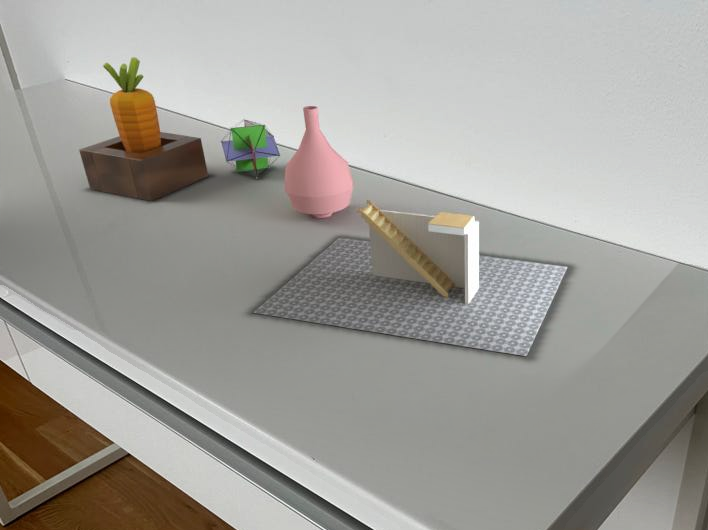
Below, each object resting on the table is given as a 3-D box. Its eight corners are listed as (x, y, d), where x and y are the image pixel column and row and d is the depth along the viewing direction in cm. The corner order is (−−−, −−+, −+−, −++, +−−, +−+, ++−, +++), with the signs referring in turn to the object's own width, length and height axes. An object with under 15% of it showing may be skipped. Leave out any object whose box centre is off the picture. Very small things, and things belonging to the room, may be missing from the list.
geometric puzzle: (285, 165, 95) (272, 104, 95) (229, 171, 92) (215, 109, 93) (282, 184, 101) (269, 127, 102) (229, 190, 99) (217, 132, 100)
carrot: (122, 187, 94) (89, 60, 86) (148, 174, 98) (119, 52, 90) (155, 191, 93) (124, 63, 85) (180, 178, 97) (153, 55, 89)
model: (468, 303, 68) (468, 224, 64) (360, 288, 71) (353, 210, 67) (478, 288, 71) (478, 211, 67) (374, 274, 73) (368, 198, 69)
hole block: (90, 189, 93) (78, 149, 91) (150, 166, 101) (141, 128, 98) (151, 201, 90) (141, 160, 87) (208, 176, 98) (201, 137, 95)
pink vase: (358, 224, 84) (348, 115, 78) (289, 229, 83) (273, 119, 76) (353, 200, 90) (343, 97, 84) (288, 204, 89) (274, 100, 83)
